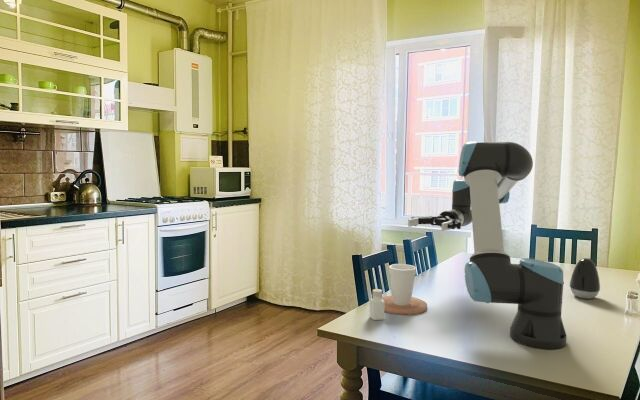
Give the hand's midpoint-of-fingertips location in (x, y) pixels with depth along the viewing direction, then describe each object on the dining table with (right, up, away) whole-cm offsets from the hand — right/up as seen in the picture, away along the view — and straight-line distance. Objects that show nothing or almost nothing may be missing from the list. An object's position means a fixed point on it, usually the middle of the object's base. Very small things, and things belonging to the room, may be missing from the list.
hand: (425, 224), depth 171 cm
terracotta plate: (-10, -29, -5) cm, 31 cm away
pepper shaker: (-20, -30, -17) cm, 40 cm away
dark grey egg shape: (+64, -29, +10) cm, 71 cm away
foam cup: (-9, -28, -5) cm, 30 cm away
